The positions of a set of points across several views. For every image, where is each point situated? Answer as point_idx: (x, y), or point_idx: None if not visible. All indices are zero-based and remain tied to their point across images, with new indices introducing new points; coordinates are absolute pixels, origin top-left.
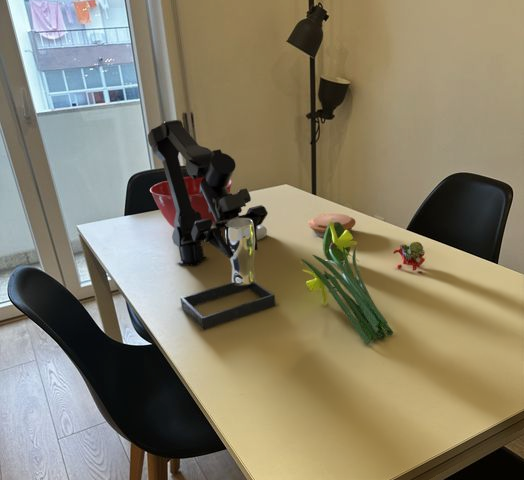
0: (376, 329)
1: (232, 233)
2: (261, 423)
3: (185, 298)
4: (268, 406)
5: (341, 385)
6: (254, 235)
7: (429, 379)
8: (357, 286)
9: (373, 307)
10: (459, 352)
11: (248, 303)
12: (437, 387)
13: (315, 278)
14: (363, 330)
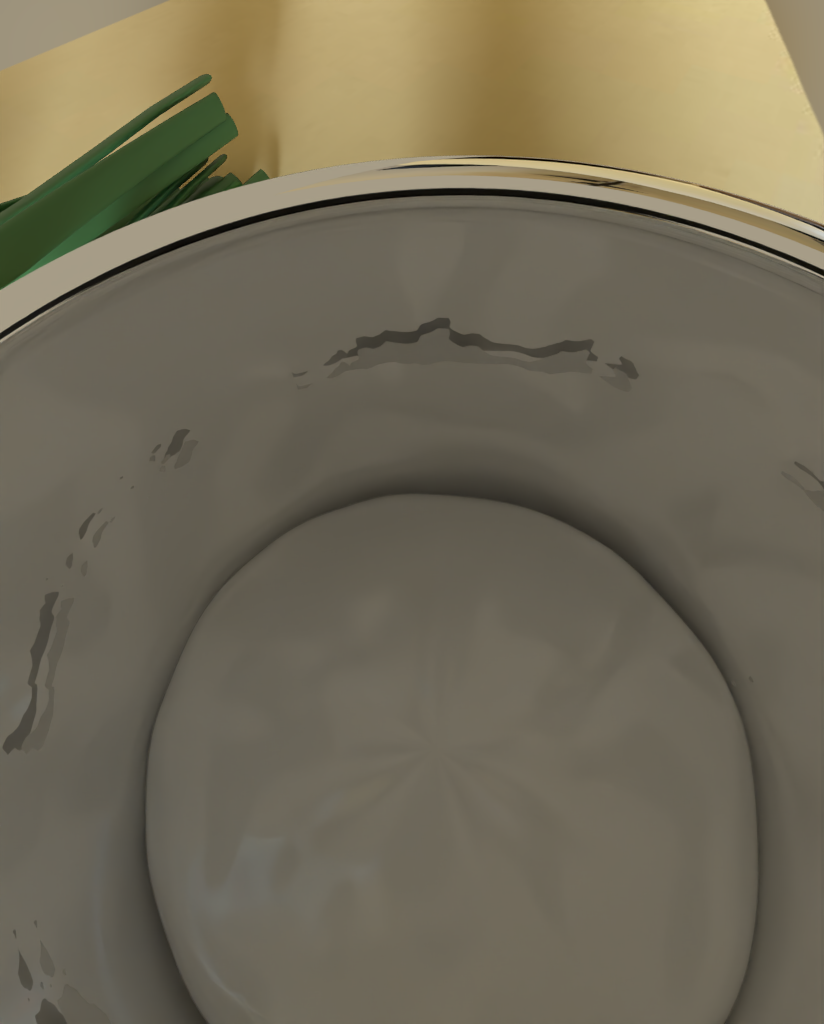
0: (231, 121)
1: (809, 462)
2: (706, 86)
3: None
4: (668, 117)
5: (457, 108)
6: (186, 529)
7: (274, 60)
8: (82, 156)
9: (166, 98)
10: (129, 92)
11: None
12: (285, 42)
13: None
14: (242, 185)
